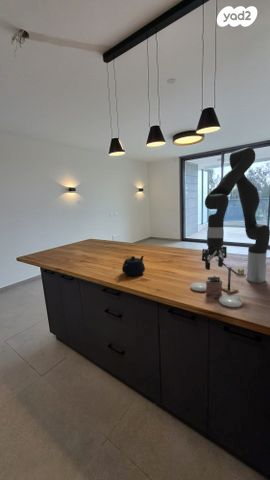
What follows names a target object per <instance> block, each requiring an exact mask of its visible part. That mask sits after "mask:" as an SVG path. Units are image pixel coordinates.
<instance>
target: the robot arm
mask: <svg viewBox="0 0 270 480" xmlns="http://www.w3.org/2000/svg"><path fill="white" fill-rule="evenodd" d="M228 158H229V165H230V168H231V170H230V171H228V172H227V173H226V174H225V175H224V176H223V177H222V178H221V179H220V182H218V184H217V186H216V187H215V188H213V189H212V190H211V191H210V192H209V193H208V195H206V197H205V200H204V206H205V207H206V209H208V210H216V212H215V213H213V214H209V215H208V218H207V231H206V233H207V234H206V235H207V236H206V246H207V248H202V249H201V250H202V252H201V261H202V262H204V269H205V270H207V271H208V270H211V260H212V259H214V258H216V257H217V259H218V261H217V266H218V267H219V268H222V267H223V266H224V265H223V263H224V261H225V259H226V258H227V257H228V256H227V254H228V253H227V251H228V250H227V247H228V246H225V245H224V234H225V229H224V222H225V221H224V219H225V215H226V211H227V209H228V207H229V203H230V202H229V197H228V196H229V195H230V194H231V193H232V191H233V190H234V188H235V187H237V192H238V193H237V194H238V197H239V202H240V206H241V209H242V216H243V219H244V220H243V222H244V228H245V230H244V231H245V235H246V236H247V238H248V239H249V240H253V241H255V243H254V244H253V245H250V246H248V247H247V248H248V250H247V252H248V253H247V266H246V267H247V268H246V269H247V270H246V271H247V272H246V280H247V281H249V282H252V283H256V284H257V283H258V284H260V283H264V282H265V281H266V275H267V274H266V273H267V250H268V248H269V244H270V227H269V226H268V225H267V224H259V223H257V219H256V214H257V213H256V212H257V211H258V208H259V205H260V202H261V201H260V195H259V190H258V188H257V187H256V186H255V184H254V183H253V182H251V181H250V180H249V179H248V178H247V176H246V175H245V173H246V172H247V171H248V170H249V169H250V167H252V165H253V164H254V162H256V160H255V159H256V151H255V150H254V148H253V147H245V148H241V149H238V150H235V151H233V152H231V153H230V154H229V157H228ZM223 260H224V261H223Z"/></svg>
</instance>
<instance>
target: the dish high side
mask: <svg viewBox="0 0 270 480" xmlns="http://www.w3.org/2000/svg"><path fill="white" fill-rule="evenodd" d="M190 289H191V290H192V291H197V292H206V282H205V283H204V282H193V283H191V284H190Z"/></svg>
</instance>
